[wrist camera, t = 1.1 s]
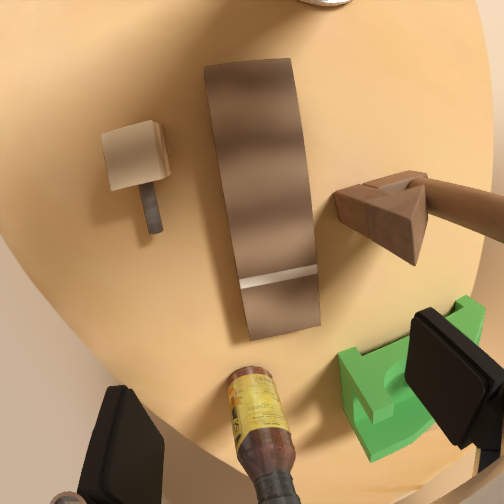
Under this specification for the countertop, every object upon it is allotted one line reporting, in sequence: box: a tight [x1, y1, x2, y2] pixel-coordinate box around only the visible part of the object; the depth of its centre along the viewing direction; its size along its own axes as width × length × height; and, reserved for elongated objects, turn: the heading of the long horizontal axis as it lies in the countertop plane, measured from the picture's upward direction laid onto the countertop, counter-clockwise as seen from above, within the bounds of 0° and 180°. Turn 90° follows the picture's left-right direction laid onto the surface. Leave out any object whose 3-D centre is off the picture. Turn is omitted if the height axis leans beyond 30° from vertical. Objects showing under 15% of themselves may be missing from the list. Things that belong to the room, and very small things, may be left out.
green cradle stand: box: [338, 295, 486, 463], centre depth 36 cm, size 24×13×12 cm, turn 105°
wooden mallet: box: [334, 170, 504, 266], centre depth 24 cm, size 4×11×18 cm, turn 107°
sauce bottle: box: [228, 366, 301, 504], centre depth 29 cm, size 7×6×20 cm
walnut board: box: [204, 58, 321, 341], centre depth 29 cm, size 28×8×3 cm, turn 9°
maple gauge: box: [101, 120, 171, 234], centre depth 26 cm, size 10×4×6 cm, turn 9°
